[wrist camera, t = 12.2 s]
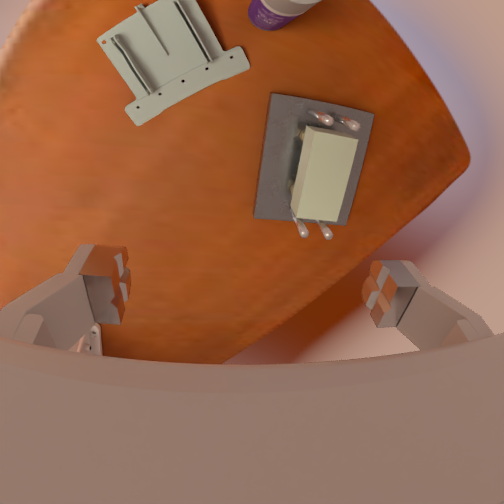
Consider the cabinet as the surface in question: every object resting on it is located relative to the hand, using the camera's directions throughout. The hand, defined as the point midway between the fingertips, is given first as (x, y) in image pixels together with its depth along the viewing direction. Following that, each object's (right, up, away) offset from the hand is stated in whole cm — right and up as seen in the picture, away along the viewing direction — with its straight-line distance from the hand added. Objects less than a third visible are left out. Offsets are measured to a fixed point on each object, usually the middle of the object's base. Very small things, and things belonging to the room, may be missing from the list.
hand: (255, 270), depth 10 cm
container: (+2, +28, +17) cm, 32 cm away
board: (+8, +10, +25) cm, 28 cm away
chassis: (+7, +12, +28) cm, 31 cm away
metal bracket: (-10, +24, +19) cm, 32 cm away
